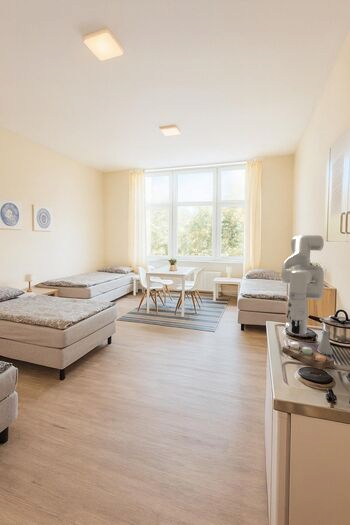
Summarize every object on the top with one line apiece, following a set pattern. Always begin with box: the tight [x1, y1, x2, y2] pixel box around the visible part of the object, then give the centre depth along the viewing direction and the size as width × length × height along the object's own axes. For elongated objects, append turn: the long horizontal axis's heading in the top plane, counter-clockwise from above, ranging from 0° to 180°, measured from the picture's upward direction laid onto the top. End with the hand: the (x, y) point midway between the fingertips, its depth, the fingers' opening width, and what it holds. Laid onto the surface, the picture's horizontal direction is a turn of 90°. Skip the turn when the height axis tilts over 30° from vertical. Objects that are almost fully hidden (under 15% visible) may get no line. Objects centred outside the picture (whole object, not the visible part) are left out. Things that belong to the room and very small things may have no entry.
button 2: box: [302, 346, 313, 356], centre depth 125 cm, size 4×4×3 cm
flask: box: [317, 331, 333, 356], centre depth 131 cm, size 7×7×10 cm
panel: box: [281, 344, 335, 370], centre depth 125 cm, size 20×10×3 cm, turn 25°
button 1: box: [289, 341, 300, 350], centre depth 131 cm, size 4×4×3 cm
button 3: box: [315, 355, 326, 362], centre depth 118 cm, size 4×4×3 cm
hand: (295, 333), depth 130 cm, fingers closed
